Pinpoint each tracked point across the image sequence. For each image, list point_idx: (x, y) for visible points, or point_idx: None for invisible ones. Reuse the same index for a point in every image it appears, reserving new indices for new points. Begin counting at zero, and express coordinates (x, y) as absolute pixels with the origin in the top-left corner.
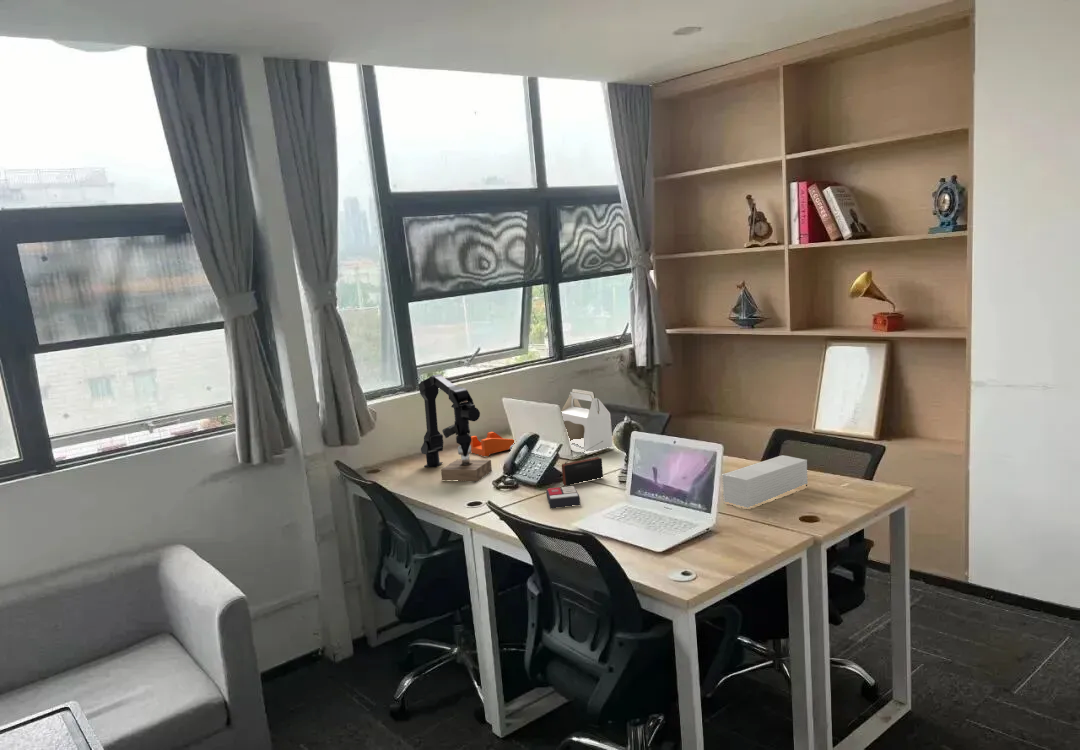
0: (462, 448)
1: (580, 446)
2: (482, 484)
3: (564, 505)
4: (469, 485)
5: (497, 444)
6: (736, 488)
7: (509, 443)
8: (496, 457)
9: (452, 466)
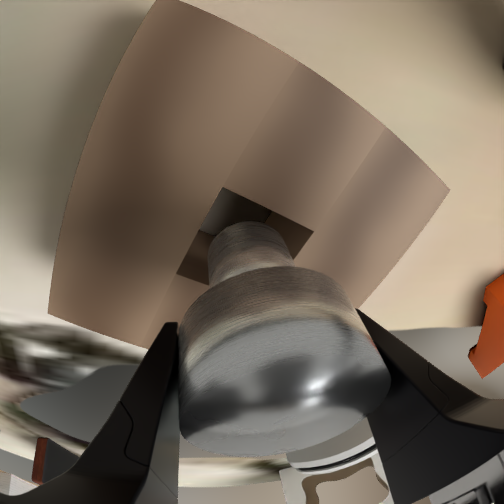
0: (115, 419)
1: (314, 474)
2: (27, 286)
3: None
4: (13, 223)
5: (496, 345)
6: (2, 488)
7: (483, 363)
8: (453, 323)
9: (231, 117)
